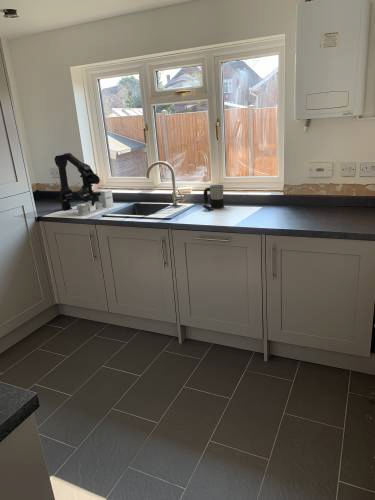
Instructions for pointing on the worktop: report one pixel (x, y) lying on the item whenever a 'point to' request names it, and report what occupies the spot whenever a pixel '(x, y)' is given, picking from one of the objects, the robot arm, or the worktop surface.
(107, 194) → the supplement box
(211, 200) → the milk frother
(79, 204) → the block
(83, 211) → the rail
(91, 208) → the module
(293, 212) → the worktop surface
